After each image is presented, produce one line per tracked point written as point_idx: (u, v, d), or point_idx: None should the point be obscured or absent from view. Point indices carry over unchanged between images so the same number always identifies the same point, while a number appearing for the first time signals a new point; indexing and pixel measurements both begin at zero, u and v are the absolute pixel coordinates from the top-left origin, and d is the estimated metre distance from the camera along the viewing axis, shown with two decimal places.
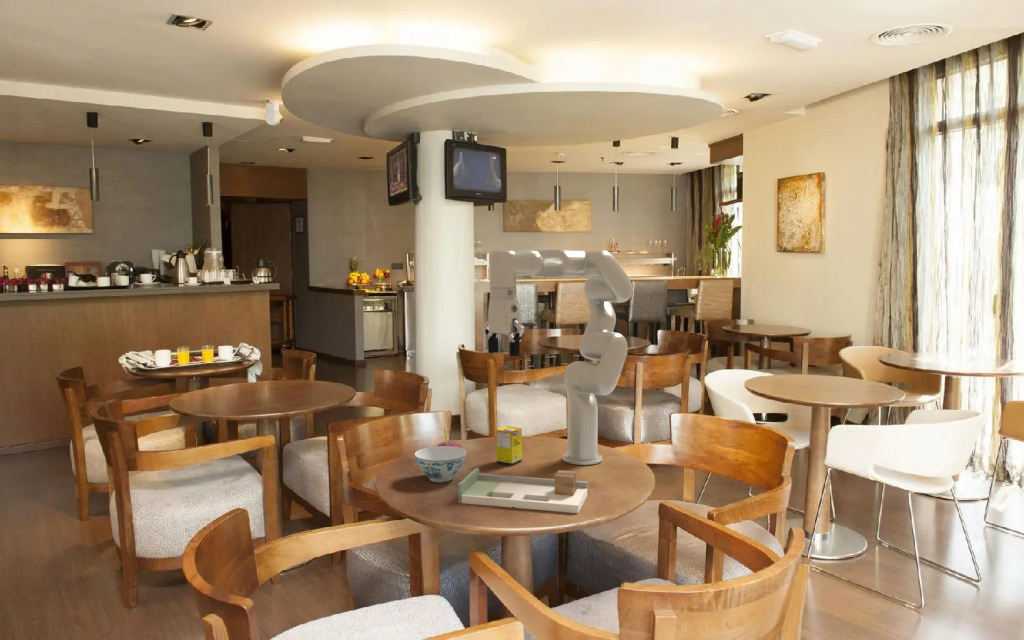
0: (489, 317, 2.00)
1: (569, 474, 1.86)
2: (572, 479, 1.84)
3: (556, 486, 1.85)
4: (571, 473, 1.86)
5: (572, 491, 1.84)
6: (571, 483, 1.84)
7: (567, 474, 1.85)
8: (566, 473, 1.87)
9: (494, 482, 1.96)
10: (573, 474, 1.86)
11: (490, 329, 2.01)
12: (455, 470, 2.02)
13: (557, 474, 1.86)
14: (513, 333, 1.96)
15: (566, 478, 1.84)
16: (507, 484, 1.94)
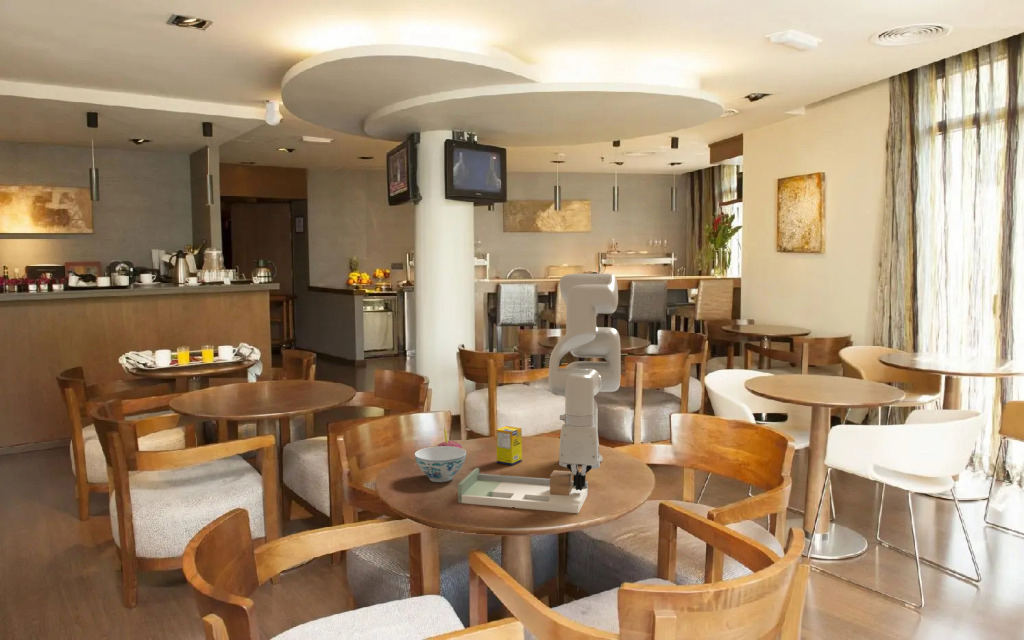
0: None
1: (564, 474, 1.86)
2: (567, 479, 1.84)
3: (552, 486, 1.85)
4: (566, 473, 1.87)
5: (567, 491, 1.84)
6: (566, 483, 1.84)
7: (562, 474, 1.85)
8: (561, 473, 1.87)
9: (494, 482, 1.96)
10: (568, 473, 1.86)
11: None
12: (455, 470, 2.02)
13: (552, 474, 1.86)
14: None
15: (561, 478, 1.84)
16: (507, 484, 1.94)
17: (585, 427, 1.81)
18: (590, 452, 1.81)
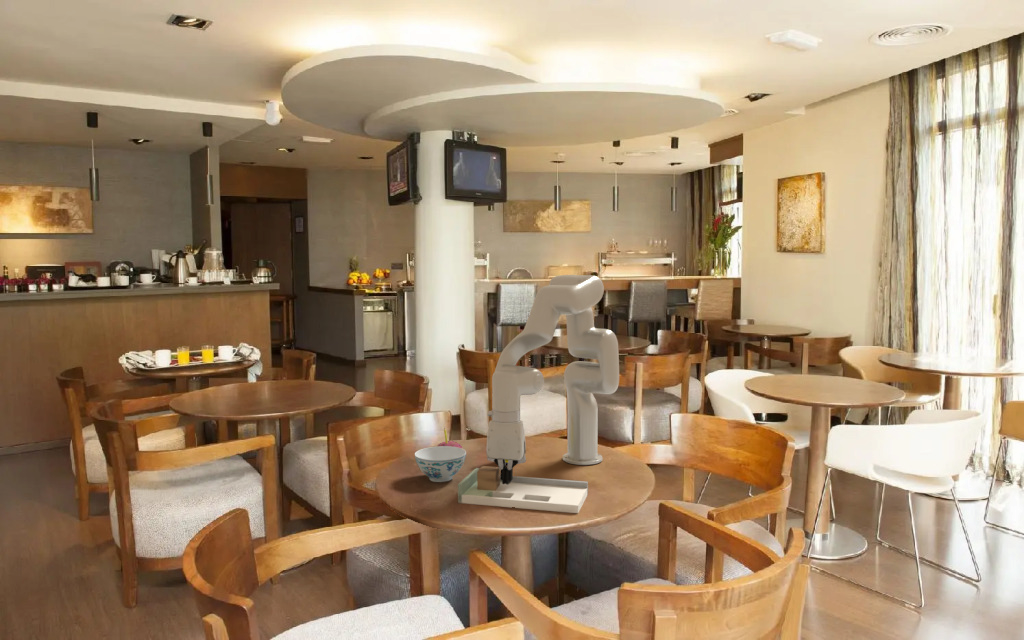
0: None
1: (491, 470, 1.90)
2: (493, 474, 1.88)
3: (479, 481, 1.89)
4: (493, 469, 1.91)
5: (494, 486, 1.89)
6: (493, 478, 1.88)
7: (489, 470, 1.90)
8: (489, 468, 1.92)
9: None
10: (495, 469, 1.91)
11: None
12: (455, 470, 2.02)
13: (480, 470, 1.90)
14: None
15: (488, 473, 1.89)
16: (507, 484, 1.94)
17: (510, 423, 1.86)
18: (515, 447, 1.87)
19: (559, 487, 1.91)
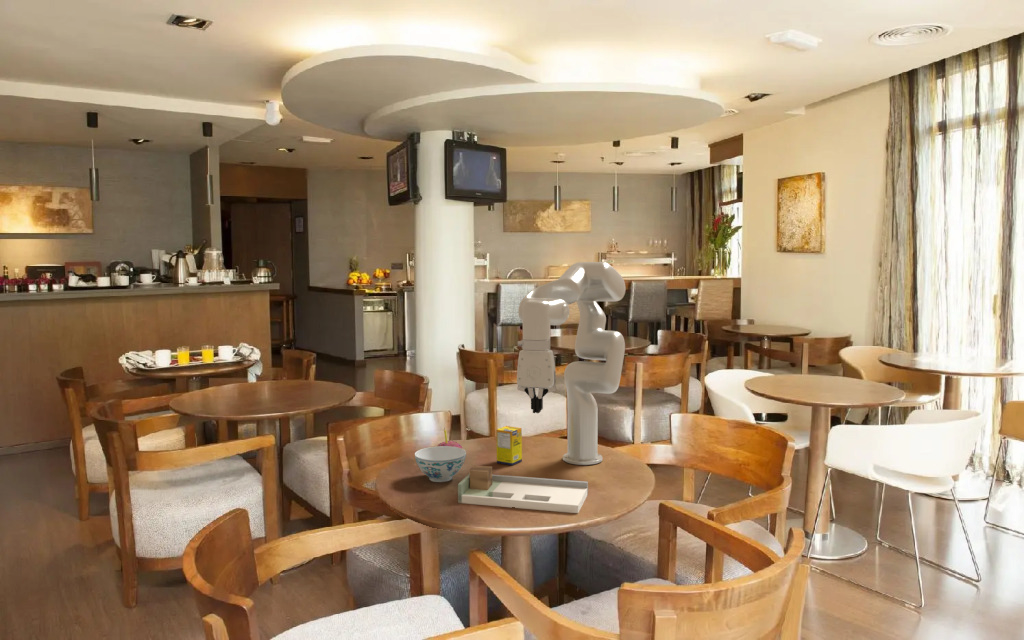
0: None
1: (483, 469, 1.91)
2: (486, 474, 1.89)
3: (472, 481, 1.90)
4: (486, 468, 1.92)
5: (486, 485, 1.89)
6: (485, 478, 1.89)
7: (482, 469, 1.91)
8: (481, 468, 1.92)
9: (494, 482, 1.96)
10: (488, 468, 1.91)
11: None
12: (455, 470, 2.02)
13: (472, 469, 1.91)
14: None
15: (481, 473, 1.89)
16: (507, 484, 1.94)
17: (541, 351, 1.88)
18: (546, 375, 1.88)
19: (559, 487, 1.91)
